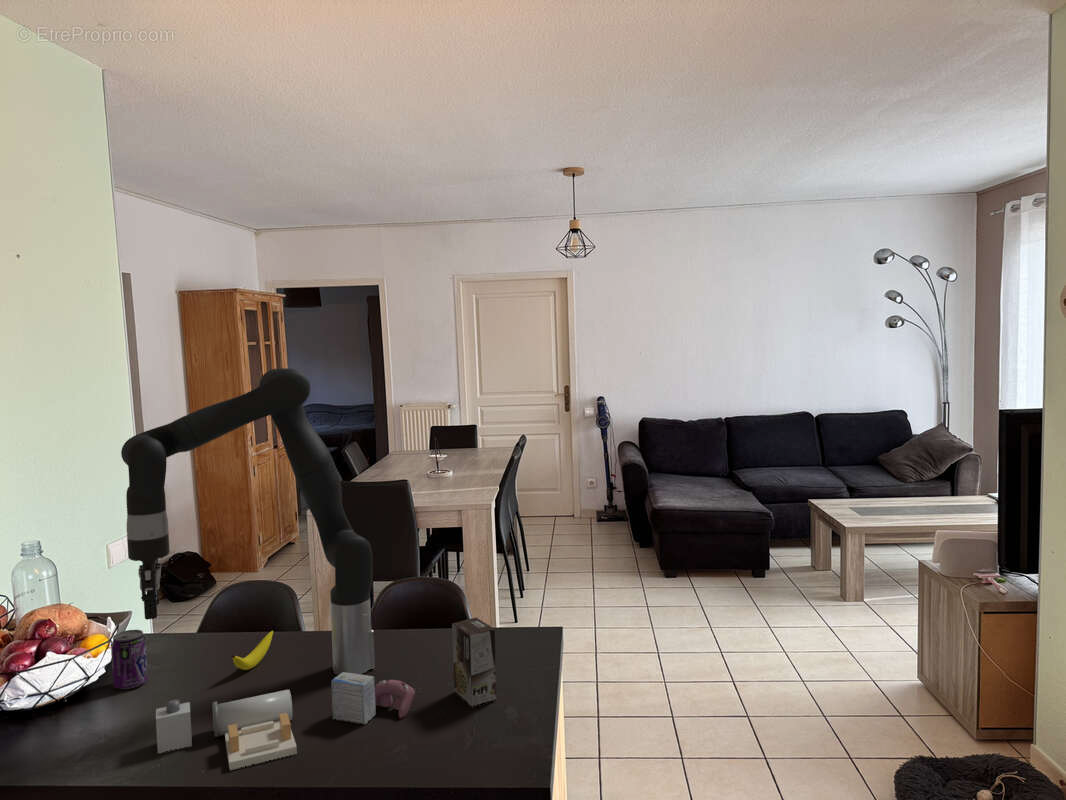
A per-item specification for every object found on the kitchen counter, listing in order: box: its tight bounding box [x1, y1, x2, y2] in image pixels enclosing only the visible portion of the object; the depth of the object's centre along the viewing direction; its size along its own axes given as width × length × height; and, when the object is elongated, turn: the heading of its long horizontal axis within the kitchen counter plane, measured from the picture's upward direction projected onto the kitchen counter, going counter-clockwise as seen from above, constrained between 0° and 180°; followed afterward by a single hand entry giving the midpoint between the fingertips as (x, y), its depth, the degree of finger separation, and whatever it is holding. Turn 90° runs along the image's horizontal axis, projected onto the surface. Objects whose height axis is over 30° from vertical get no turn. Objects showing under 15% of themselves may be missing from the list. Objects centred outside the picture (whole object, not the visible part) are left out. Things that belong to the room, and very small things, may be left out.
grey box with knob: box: [155, 699, 193, 754], centre depth 147 cm, size 6×4×9 cm
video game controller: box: [374, 679, 416, 719], centre depth 160 cm, size 10×5×7 cm, turn 65°
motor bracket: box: [212, 689, 298, 771], centre depth 148 cm, size 15×18×7 cm
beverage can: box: [110, 629, 149, 690], centre depth 174 cm, size 7×7×12 cm
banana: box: [231, 630, 274, 671], centre depth 184 cm, size 3×19×6 cm, turn 172°
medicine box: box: [330, 672, 377, 725], centre depth 157 cm, size 8×4×9 cm, turn 71°
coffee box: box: [451, 617, 497, 707], centre depth 165 cm, size 9×6×16 cm
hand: (152, 611), depth 153 cm, fingers open, 8 cm apart
